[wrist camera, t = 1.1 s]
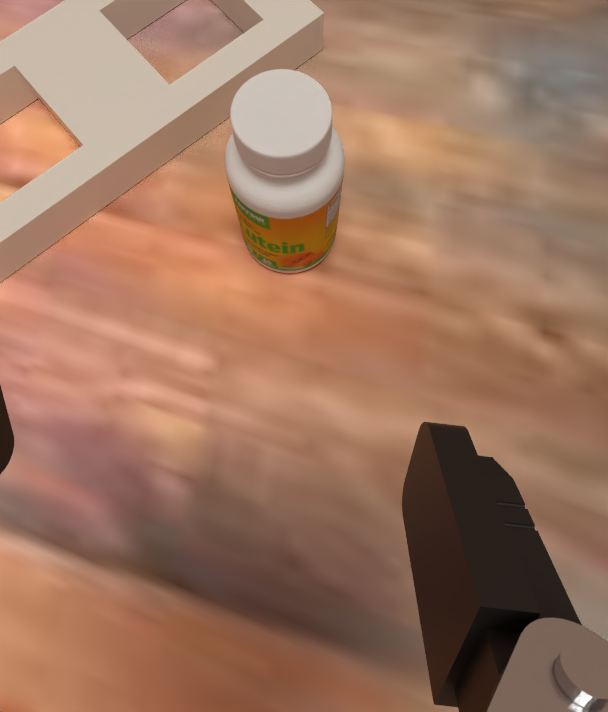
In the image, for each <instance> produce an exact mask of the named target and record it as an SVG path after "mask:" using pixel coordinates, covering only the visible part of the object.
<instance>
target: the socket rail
mask: <svg viewBox="0 0 608 712" xmlns="http://www.w3.org/2000/svg"><path fill="white" fill-rule="evenodd" d="M184 1H185V0H64V1H63V2H61V3H60V4H58V5H57V6H55V7H53V8H52V9H50V10H49V11H47V12H46V13H44V14H43V15H41V16H39V17H38V18H36V19H35V20H33V21H32V22H30V23H28V24H27V25H25V26H24V27H22V28H21V29H19V30H17V31H16V32H14V33H13V34H11V35H10V36H8V37H6V38H5V39H3V40H2V41H0V124H1V123H2V122H4V121H5V120H7V119H8V118H10V117H11V116H13V115H14V114H16V113H17V112H19V111H20V110H22V109H23V108H25V107H26V106H28V105H29V104H31V103H32V102H34V101H35V100H37V99H38V98H39V99H40V100H41V102H42V103H43V104H44V105H45V106H46V107H47V109H48V110H49V111H50V112H51V113H52V114H53V116H54V117H55V118H56V119H57V120H58V121H59V122H60V124H61V125H62V126H63V127H64V128H65V129H66V131H67V132H68V133H69V134H70V135H71V136H72V138H73V139H74V140H75V141H76V142H77V143H78V144H79V146H80V147H79V148H78V149H77V150H75V151H74V152H72V153H71V154H69V155H68V156H67V157H65V158H64V159H62V160H61V161H59V162H58V163H56V164H55V165H54V166H52V167H51V168H49V169H48V170H46V171H45V172H44V173H42V174H41V175H39V176H38V177H36V178H35V179H33V180H32V181H31V182H29V183H28V184H26V185H25V186H23V187H22V188H21V189H19V190H18V191H16V192H15V193H13V194H12V195H10V196H9V197H8V198H6V199H5V200H3V201H2V202H0V282H2V281H3V280H4V279H6V278H7V277H9V276H10V275H11V274H13V273H14V272H15V271H17V270H18V269H20V268H21V267H22V266H24V265H25V264H27V263H28V262H29V261H31V260H32V259H33V258H35V257H36V256H38V255H39V254H40V253H42V252H43V251H45V250H46V249H47V248H49V247H50V246H51V245H53V244H54V243H56V242H57V241H58V240H60V239H61V238H62V237H64V236H65V235H67V234H68V233H69V232H71V231H72V230H74V229H75V228H76V227H78V226H79V225H80V224H82V223H83V222H85V221H86V220H87V219H89V218H90V217H92V216H93V215H94V214H96V213H97V212H98V211H100V210H101V209H103V208H104V207H105V206H107V205H108V204H109V203H111V202H112V201H114V200H115V199H116V198H118V197H119V196H121V195H122V194H123V193H125V192H126V191H127V190H129V189H130V188H132V187H133V186H134V185H136V184H137V183H138V182H140V181H141V180H143V179H144V178H145V177H147V176H148V175H150V174H151V173H152V172H154V171H155V170H156V169H158V168H159V167H161V166H162V165H163V164H165V163H166V162H168V161H169V160H170V159H172V158H173V157H174V156H176V155H177V154H179V153H180V152H181V151H183V150H184V149H185V148H187V147H188V146H190V145H191V144H192V143H194V142H195V141H197V140H198V139H199V138H201V137H202V136H203V135H205V134H206V133H208V132H209V131H210V130H212V129H213V128H215V127H216V126H217V125H219V124H220V123H221V122H223V121H224V120H226V119H227V118H228V117H230V110H231V105H232V101H233V99H234V96H235V95H236V93H237V91H238V90H239V89H240V87H241V86H242V85H243V84H244V83H245V82H247V81H248V80H249V79H250V78H252V77H254V76H256V75H258V74H260V73H262V72H265V71H269V70H275V69H289V70H295V69H296V68H297V67H299V66H300V65H302V64H303V63H304V62H306V61H307V60H308V59H310V58H311V57H313V56H314V55H315V54H317V53H318V52H320V51H321V50H322V49H323V23H324V13H323V12H322V11H321V10H320V9H319V8H318V7H317V6H316V5H315V4H314V3H312V2H311V1H310V0H211V1H212V2H213V3H214V4H215V5H216V6H217V7H218V8H219V9H220V10H221V11H222V12H223V13H224V14H226V15H227V16H228V17H229V18H230V19H231V20H232V21H233V22H234V23H235V24H236V25H237V26H238V27H239V28H240V29H241V30H242V31H243V32H244V34H242V35H241V36H239V37H238V38H236V39H235V40H233V41H232V42H231V43H229V44H228V45H226V46H225V47H223V48H222V49H220V50H219V51H218V52H216V53H215V54H213V55H212V56H210V57H209V58H208V59H206V60H205V61H203V62H202V63H200V64H199V65H197V66H196V67H195V68H193V69H192V70H190V71H189V72H187V73H186V74H185V75H183V76H182V77H180V78H179V79H177V80H176V81H174V82H173V83H172V84H170V85H169V84H168V83H167V82H166V81H165V79H164V78H163V77H162V76H161V75H160V74H159V73H158V72H157V71H156V70H155V69H154V68H153V67H152V66H151V65H150V64H149V63H148V62H147V60H146V59H145V58H144V57H143V56H142V55H141V54H140V53H139V52H138V51H137V50H136V49H135V48H134V47H133V46H132V45H131V44H130V43H129V41H128V40H127V39H128V38H130V37H131V36H133V35H134V34H136V33H137V32H139V31H140V30H142V29H143V28H145V27H146V26H148V25H149V24H151V23H152V22H154V21H155V20H157V19H158V18H160V17H161V16H163V15H164V14H166V13H167V12H169V11H170V10H172V9H173V8H175V7H176V6H178V5H179V4H181V3H182V2H184Z"/></svg>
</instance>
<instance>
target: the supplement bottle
mask: <svg viewBox="0 0 608 712" xmlns="http://www.w3.org/2000/svg"><path fill="white" fill-rule="evenodd" d="M230 121H231V126H232V134H231V136H230V138H229V141H228V143H227V147H226V152H225V168H226V174H227V179H228V183H229V186H230V190H231V193H232V197H233V200H234V204H235V208H236V211H237V215H238V219H239V222H240V226H241V230H242V234H243V237H244V240H245V243H246V246H247V248H248V250H249V252H250V253H251V255H252V256H253V257H254V258H255V259H256V260H257V261H258V262H259V263H260V264H261V265H263V266H265V267H266V268H268V269H271V270H273V271H276V272H281V273H298V272H302V271H306V270H308V269H310V268H312V267H314V266H316V265H317V264H319V263H320V262H321V261H322V260H323V259H324V258H325V257H326V255H327V254H328V253H329V251H330V249H331V247H332V245H333V243H334V239H335V235H336V229H337V221H338V213H339V205H340V198H341V190H342V182H343V175H344V150H343V146H342V142H341V139H340V137H339V135H338V133H337V132H336V130H335V128H334V127H333V126H332V105H331V102H330V99H329V96H328V94H327V93H326V91H325V90H324V88H323V87H322V86H321V85H320V84H319V83H318V82H317V81H316V80H314V79H313V78H312V77H310V76H308V75H306V74H304V73H301V72H298V71H294V70H289V69H275V70H269V71H265V72H262V73H260V74H258V75H256V76H254V77H252V78H250V79H249V80H248V81H247V82H245V83H244V84H243V85H242V86H241V87H240V89H239V90H238V91H237V93H236V95H235V96H234V99H233V101H232V105H231V110H230Z"/></svg>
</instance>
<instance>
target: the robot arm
mask: <svg viewBox="0 0 608 712" xmlns="http://www.w3.org/2000/svg"><path fill="white" fill-rule="evenodd" d="M13 448H14V435H13V431H12V427H11V424H10V420H9V416H8V412H7V409H6V405H5V401H4V397H3V394H2V390H1V386H0V474H1V473H2V471H3V470H4V469H5V468H6V466H7V465H8V463H9V461H10V459H11V456H12V453H13ZM402 511H403V519H404V525H405V531H406V538H407V544H408V550H409V556H410V562H411V568H412V574H413V580H414V586H415V592H416V598H417V604H418V610H419V617H420V623H421V629H422V635H423V641H424V647H425V653H426V659H427V665H428V671H429V677H430V683H431V689H432V696H433V702H434V704H435V705H444V706H453V707H458V709H459V712H608V642H607V641H606V640H604V639H603V638H602V637H600V636H599V635H597V634H596V633H595V632H593V631H591V630H589V629H588V628H586V627H584V626H582V624H581V622H580V620H579V619H578V617H577V615H576V612H575V610H574V608H573V606H572V604H571V602H570V600H569V597H568V595H567V593H566V591H565V589H564V587H563V585H562V582H561V580H560V578H559V576H558V574H557V572H556V569H555V567H554V565H553V563H552V561H551V559H550V557H549V554H548V552H547V550H546V548H545V546H544V544H543V542H542V539H541V537H540V535H539V533H538V531H535V528H534V527H535V524H534V522H533V520H532V518H531V516H530V514H529V512H528V509H525V503H524V501H523V499H522V497H521V494H520V492H519V490H518V488H517V486H516V484H515V482H514V479H513V478H512V477H511V476H510V475H509V474H508V473H507V472H506V471H505V470H504V469H503V468H502V467H501V466H500V465H499V464H498V463H497V462H496V461H495V460H494V459H493V457H485V456H478V455H477V452H476V450H475V447H474V445H473V442H472V440H471V437H470V435H469V432H468V430H467V429H466V427H464V426H456V425H447V424H438V423H430V422H423V423H422V424H421V426H420V429H419V432H418V435H417V439H416V442H415V446H414V449H413V453H412V456H411V460H410V464H409V467H408V471H407V474H406V478H405V482H404V487H403V496H402Z"/></svg>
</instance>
